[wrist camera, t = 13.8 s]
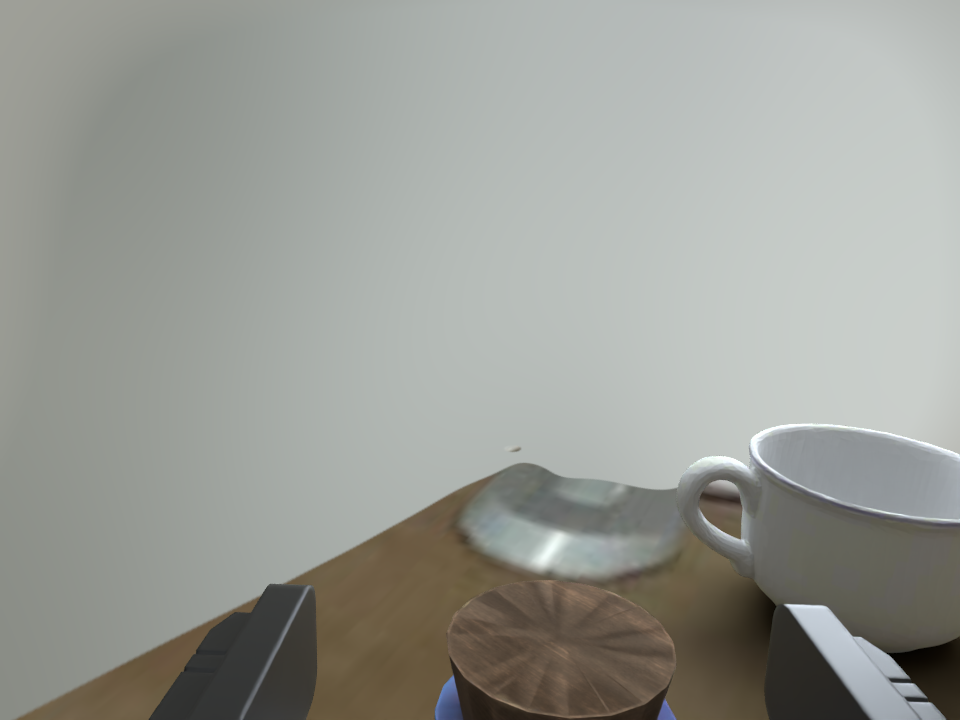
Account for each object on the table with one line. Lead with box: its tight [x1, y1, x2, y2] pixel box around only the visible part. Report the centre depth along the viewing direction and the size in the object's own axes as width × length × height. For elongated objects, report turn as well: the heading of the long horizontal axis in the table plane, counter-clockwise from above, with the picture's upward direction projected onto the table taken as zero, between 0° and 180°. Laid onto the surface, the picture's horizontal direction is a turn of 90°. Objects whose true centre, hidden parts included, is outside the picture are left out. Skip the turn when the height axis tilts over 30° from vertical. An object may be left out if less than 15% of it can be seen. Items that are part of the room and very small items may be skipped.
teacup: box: [676, 424, 960, 653], centre depth 33 cm, size 14×11×8 cm
